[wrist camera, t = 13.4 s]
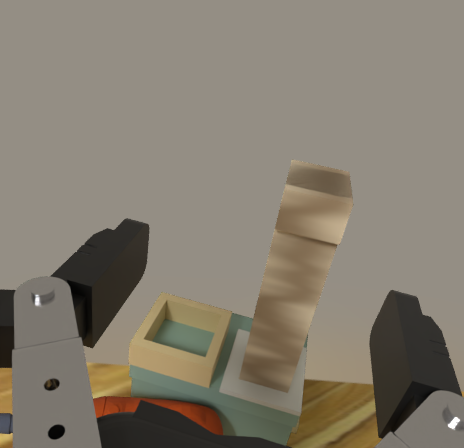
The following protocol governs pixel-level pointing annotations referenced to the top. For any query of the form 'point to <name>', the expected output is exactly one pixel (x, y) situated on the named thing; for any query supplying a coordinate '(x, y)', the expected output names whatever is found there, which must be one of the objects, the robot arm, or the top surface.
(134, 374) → the tool chest
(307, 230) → the wooden key
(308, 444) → the top surface
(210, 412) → the toy drill
